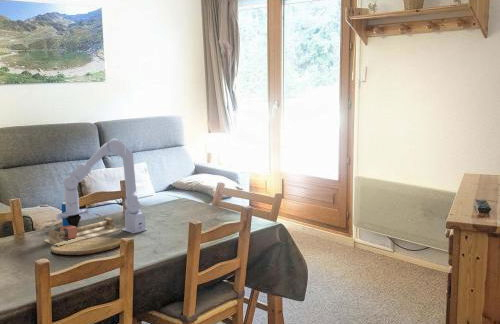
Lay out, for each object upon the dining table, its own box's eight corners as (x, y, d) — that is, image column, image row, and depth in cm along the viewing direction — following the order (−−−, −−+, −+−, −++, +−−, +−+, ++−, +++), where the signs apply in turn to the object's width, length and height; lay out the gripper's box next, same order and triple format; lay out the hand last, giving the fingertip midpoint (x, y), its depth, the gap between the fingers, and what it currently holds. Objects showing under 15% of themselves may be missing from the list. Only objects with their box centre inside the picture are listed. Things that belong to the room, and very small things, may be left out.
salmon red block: (69, 234, 223) (68, 224, 223) (77, 236, 219) (76, 226, 218) (60, 236, 220) (60, 226, 220) (68, 238, 216) (68, 228, 215)
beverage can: (73, 228, 236) (72, 204, 234) (60, 228, 236) (59, 204, 234) (78, 224, 242) (77, 200, 240) (65, 224, 243) (64, 200, 240)
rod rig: (104, 226, 239) (104, 215, 239) (119, 230, 232) (118, 220, 231) (44, 241, 216) (43, 229, 216) (58, 246, 209) (57, 234, 208)
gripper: (81, 198, 230) (83, 226, 232) (52, 203, 219) (54, 233, 221) (90, 200, 225) (91, 229, 227) (60, 206, 214) (62, 236, 216)
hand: (73, 231), depth 224 cm, fingers closed
